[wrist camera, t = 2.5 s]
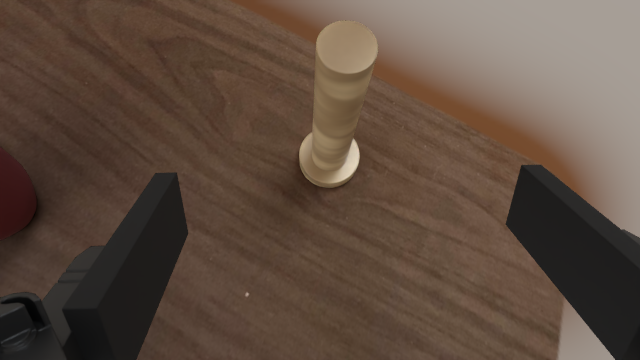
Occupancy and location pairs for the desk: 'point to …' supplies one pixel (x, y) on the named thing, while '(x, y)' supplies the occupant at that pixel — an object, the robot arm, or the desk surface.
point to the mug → (14, 196)
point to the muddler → (338, 102)
